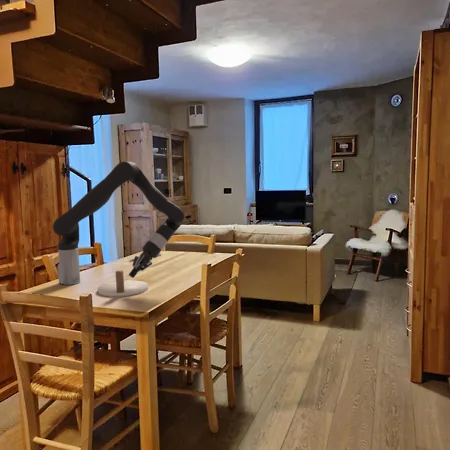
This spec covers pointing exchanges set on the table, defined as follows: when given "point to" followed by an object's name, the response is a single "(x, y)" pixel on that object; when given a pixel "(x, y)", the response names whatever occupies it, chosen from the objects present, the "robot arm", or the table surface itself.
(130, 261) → the adjustable wrench
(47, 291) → the table surface
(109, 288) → the dial
